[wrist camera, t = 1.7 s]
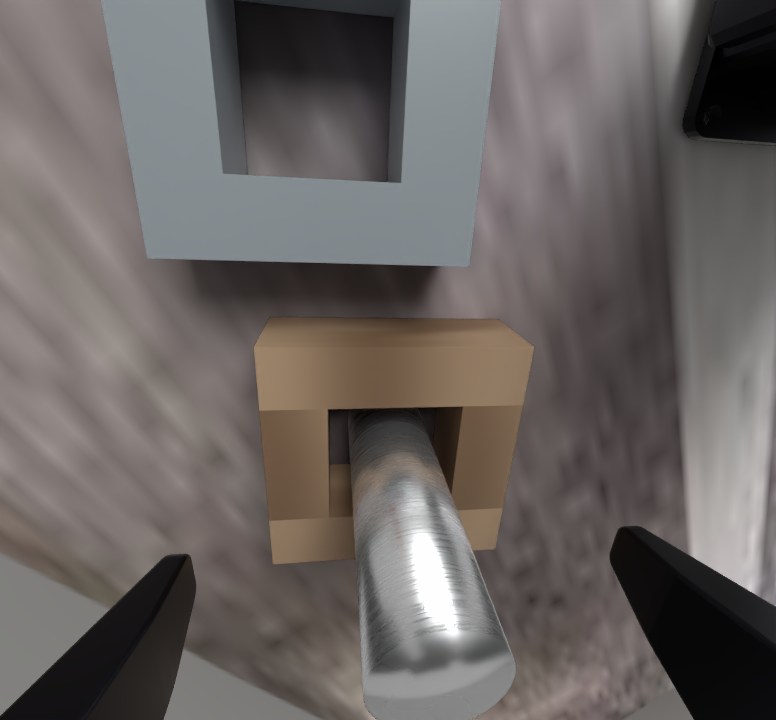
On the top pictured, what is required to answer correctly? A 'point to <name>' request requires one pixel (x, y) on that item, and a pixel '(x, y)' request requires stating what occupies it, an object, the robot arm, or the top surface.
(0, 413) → the top surface
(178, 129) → the gray square ring
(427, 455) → the silver metal rod
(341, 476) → the socket block
